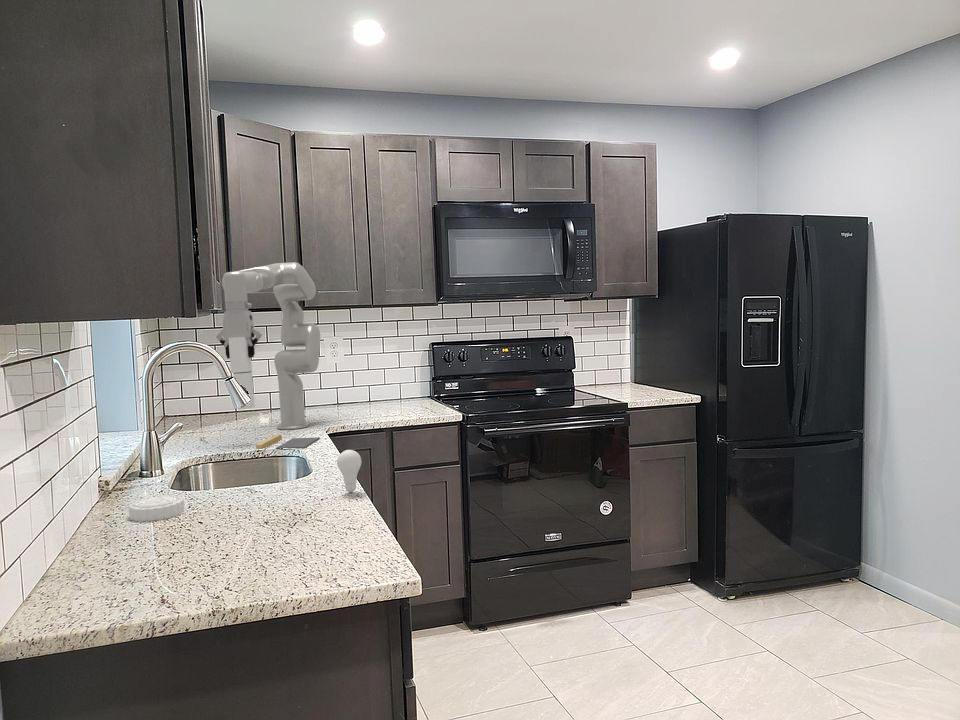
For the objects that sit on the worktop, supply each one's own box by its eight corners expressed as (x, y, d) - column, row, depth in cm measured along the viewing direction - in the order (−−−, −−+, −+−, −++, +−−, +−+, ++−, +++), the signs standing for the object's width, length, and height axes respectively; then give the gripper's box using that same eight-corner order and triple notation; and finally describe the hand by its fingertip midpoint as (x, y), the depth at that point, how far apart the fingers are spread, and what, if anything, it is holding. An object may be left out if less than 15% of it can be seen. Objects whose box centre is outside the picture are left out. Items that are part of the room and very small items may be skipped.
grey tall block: (247, 408, 254) (242, 337, 252) (229, 409, 255) (224, 338, 253) (258, 405, 261) (253, 336, 259) (240, 406, 262) (235, 336, 260)
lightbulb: (335, 495, 183) (332, 452, 182) (343, 489, 189) (340, 447, 188) (359, 495, 182) (356, 452, 181) (366, 489, 188) (363, 447, 187)
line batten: (276, 439, 268) (276, 434, 268) (281, 439, 268) (281, 434, 268) (256, 450, 248) (255, 445, 248) (261, 450, 248) (261, 444, 248)
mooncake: (121, 516, 173) (120, 501, 173) (171, 505, 182) (170, 491, 181) (141, 525, 165) (140, 510, 164) (193, 513, 173) (192, 498, 173)
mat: (293, 439, 267) (292, 438, 267) (319, 439, 266) (319, 437, 266) (275, 449, 249) (275, 447, 249) (304, 448, 248) (304, 447, 248)
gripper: (264, 306, 258) (268, 355, 260) (217, 308, 260) (221, 357, 261) (256, 306, 251) (260, 357, 252) (208, 308, 252) (212, 359, 254)
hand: (240, 357), depth 257 cm, fingers closed on grey tall block, 7 cm apart
